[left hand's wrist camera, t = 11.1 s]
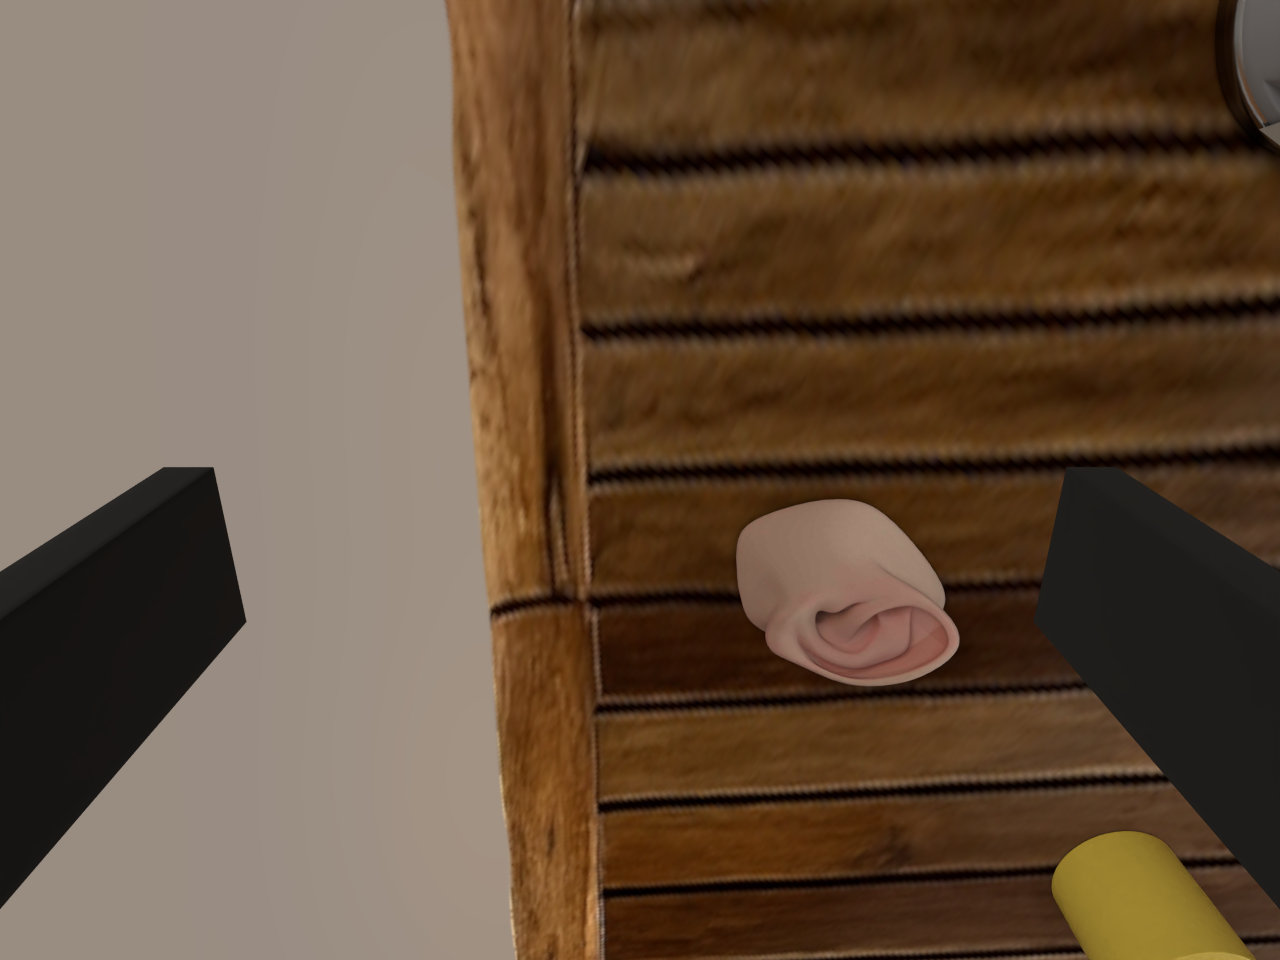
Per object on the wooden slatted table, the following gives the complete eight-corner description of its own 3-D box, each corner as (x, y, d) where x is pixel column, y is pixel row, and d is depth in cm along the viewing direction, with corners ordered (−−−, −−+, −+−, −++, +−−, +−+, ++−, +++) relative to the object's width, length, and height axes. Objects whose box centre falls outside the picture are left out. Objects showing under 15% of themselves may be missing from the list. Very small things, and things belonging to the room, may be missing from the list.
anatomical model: (707, 579, 45) (889, 480, 43) (702, 548, 49) (869, 455, 47) (814, 738, 50) (986, 655, 47) (802, 698, 53) (961, 619, 51)
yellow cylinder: (1192, 834, 58) (1293, 956, 49) (1153, 923, 61) (1241, 1054, 52) (1070, 827, 58) (1149, 948, 49) (1037, 917, 61) (1105, 1047, 52)
